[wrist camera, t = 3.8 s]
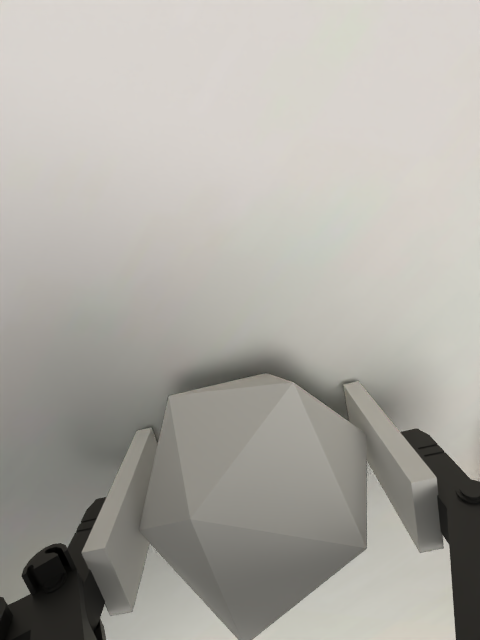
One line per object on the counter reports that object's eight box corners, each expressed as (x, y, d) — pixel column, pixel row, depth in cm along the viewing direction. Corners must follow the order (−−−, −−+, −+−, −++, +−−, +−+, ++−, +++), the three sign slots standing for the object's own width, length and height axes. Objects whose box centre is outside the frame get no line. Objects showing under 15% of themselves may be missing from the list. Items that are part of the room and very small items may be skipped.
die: (245, 516, 20) (417, 652, 12) (87, 538, 15) (211, 799, 7) (273, 372, 21) (450, 413, 13) (133, 346, 15) (288, 387, 8)
